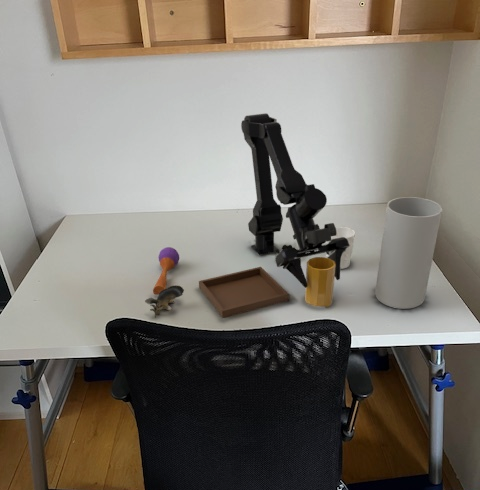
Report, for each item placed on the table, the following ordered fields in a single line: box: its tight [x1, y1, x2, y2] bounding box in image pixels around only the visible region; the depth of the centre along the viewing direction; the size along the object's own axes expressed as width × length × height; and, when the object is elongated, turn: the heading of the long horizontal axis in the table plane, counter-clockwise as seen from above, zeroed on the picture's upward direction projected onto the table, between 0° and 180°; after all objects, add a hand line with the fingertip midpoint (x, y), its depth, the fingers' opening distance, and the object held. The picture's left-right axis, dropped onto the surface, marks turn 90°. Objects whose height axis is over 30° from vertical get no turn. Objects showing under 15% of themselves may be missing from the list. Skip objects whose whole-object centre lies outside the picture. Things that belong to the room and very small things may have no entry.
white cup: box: [325, 226, 356, 270], centre depth 154 cm, size 8×8×10 cm
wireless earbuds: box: [274, 244, 299, 255], centre depth 158 cm, size 7×2×5 cm, turn 86°
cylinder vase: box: [374, 196, 443, 310], centre depth 133 cm, size 12×12×25 cm
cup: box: [304, 256, 336, 309], centre depth 136 cm, size 7×7×11 cm
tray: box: [198, 266, 290, 319], centre depth 141 cm, size 17×19×3 cm
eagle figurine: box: [144, 285, 185, 318], centre depth 136 cm, size 8×7×9 cm
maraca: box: [152, 246, 180, 295], centre depth 150 cm, size 6×6×20 cm
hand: (322, 283), depth 135 cm, fingers open, 9 cm apart
